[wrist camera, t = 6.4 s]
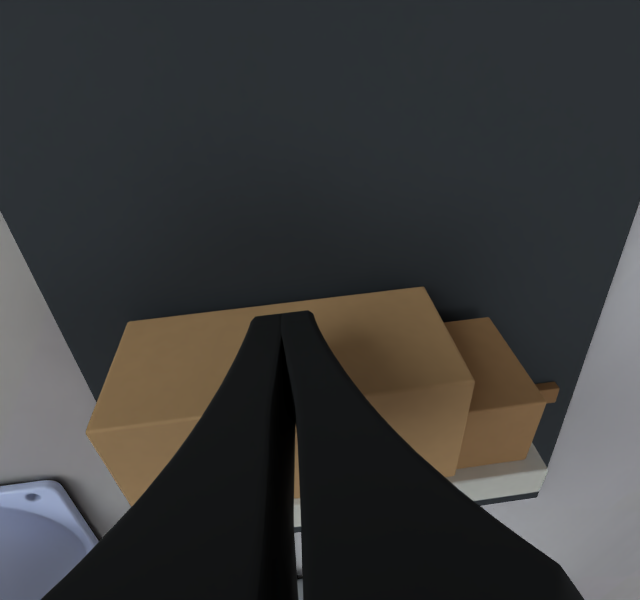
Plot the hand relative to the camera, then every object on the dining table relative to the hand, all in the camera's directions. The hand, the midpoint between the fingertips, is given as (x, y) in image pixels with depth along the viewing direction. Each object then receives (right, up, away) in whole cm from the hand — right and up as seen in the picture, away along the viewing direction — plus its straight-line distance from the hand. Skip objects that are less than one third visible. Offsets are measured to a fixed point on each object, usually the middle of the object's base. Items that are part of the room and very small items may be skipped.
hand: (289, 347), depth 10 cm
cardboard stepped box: (+1, -1, +5) cm, 5 cm away
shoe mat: (+2, 0, +5) cm, 6 cm away
